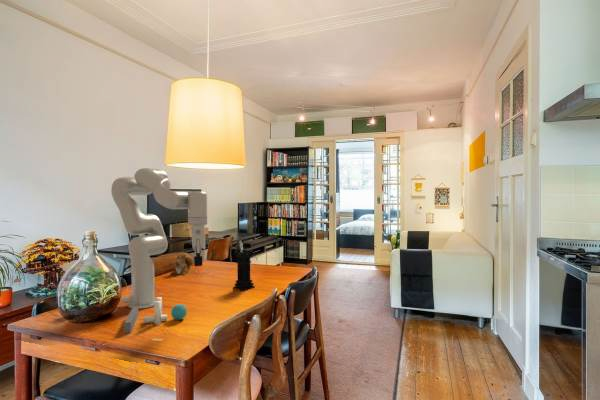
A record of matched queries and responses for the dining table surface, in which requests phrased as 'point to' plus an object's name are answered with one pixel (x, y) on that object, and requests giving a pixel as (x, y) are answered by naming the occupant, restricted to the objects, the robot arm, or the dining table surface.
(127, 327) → the wall
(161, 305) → the back pin left
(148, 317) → the front pin
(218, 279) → the dining table surface
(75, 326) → the dining table surface
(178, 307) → the ball
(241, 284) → the chess piece
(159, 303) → the back pin right
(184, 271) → the stuffed squirrel
